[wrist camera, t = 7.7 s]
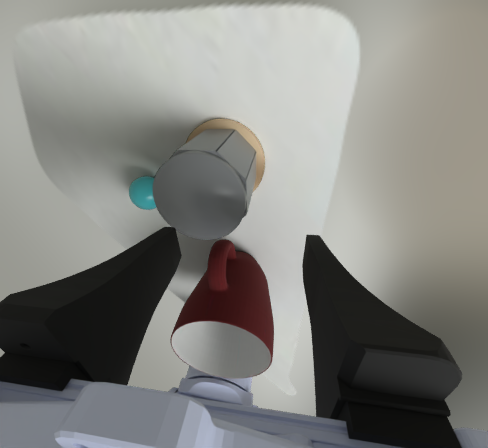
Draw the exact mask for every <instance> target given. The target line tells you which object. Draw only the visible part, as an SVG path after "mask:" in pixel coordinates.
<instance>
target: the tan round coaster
mask: <svg viewBox="0 0 488 448" xmlns="http://www.w3.org/2000/svg"><path fill="white" fill-rule="evenodd" d="M206 129H235V130H237V131H238V132H239V133H240V134H241V135H242V136H243V137H244V138H245V139H246V141H247V142H248V143H249V144H250V145H251V146H252V147H253V148H254V149H255V150H256V151H255V152H256V180H255V184H254V188H253V191H254V190H255V189H256V188H257V187H258V185H259V183H260V182H261V180H262V177H263V173H264V169H265V157H264V152H263V148H262V146H261V144H260V142H259V140H258V138H257V137H256V136H255V135H254V133H253V132H252V131H251V130H250V129H249V128H247V127H246V126H244V125H243V124H241V123H239V122H236V121H234V120H230V119H214V120H210V121H207V122H205V123H203V124H201V125H200V126H198V127H197V128H196V129H195V130H194V131H193V132H192V133H191V134H190V136H189V137H188V139H187V141H186V143H187V142H189V141H190V140H192V139H193V138H195V137H196V136H197V135H199V134H200V133H202V132H203V131H204V130H206ZM186 143H185V144H186Z"/></svg>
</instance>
